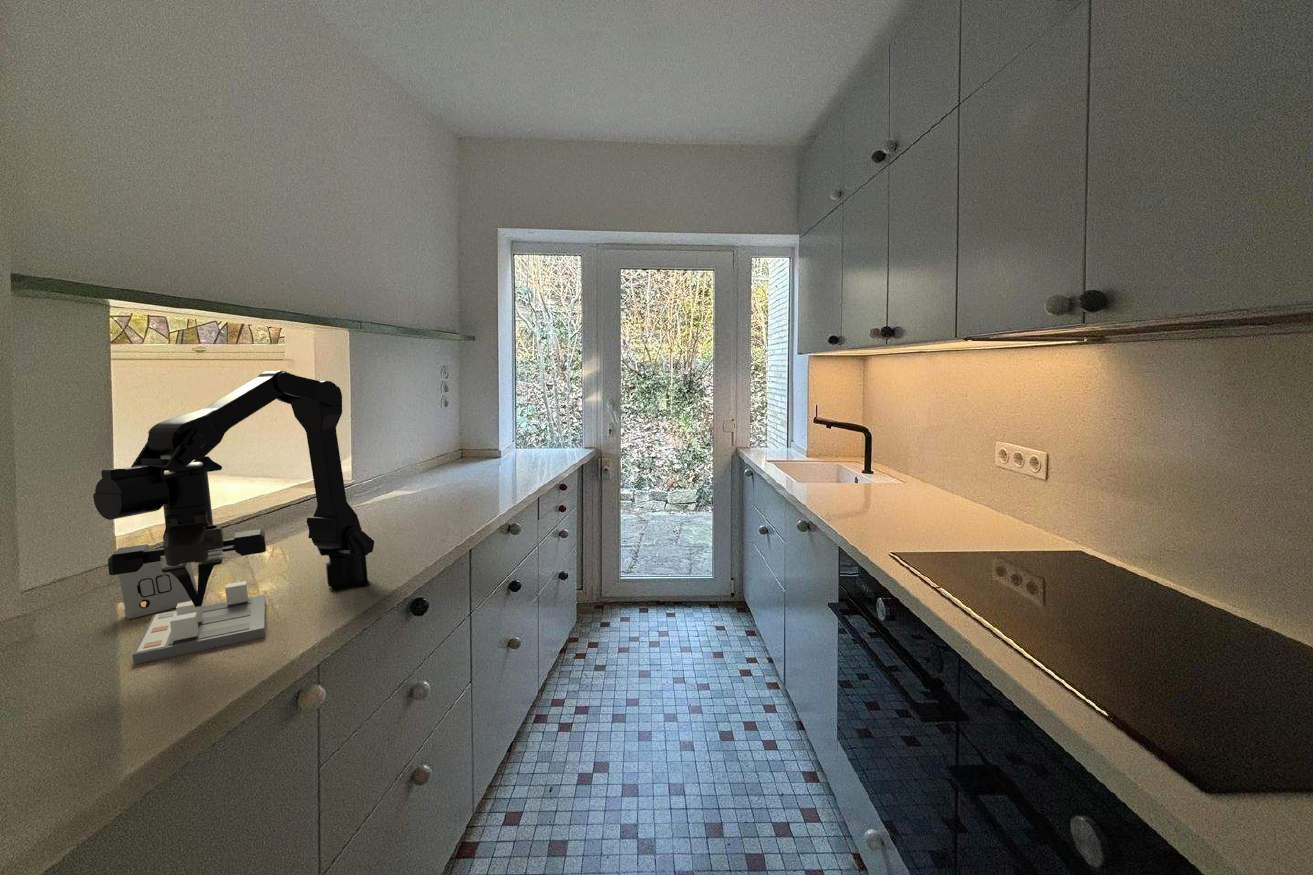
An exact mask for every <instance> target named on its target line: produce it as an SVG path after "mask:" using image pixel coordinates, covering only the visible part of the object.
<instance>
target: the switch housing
mask: <svg viewBox="0 0 1313 875" xmlns="http://www.w3.org/2000/svg"><path fill="white" fill-rule="evenodd" d="M266 602H267V600H266V594H260V595H256V596H248V601H246V602H241V603H235V604H230V605H227V601H222V602H216V603H211V604H204V605H202V614H203V618H202V622H198V629H199V632H198V635H197V636H195V637H190V638H185V639H180V640H175V641H172V635H171V626H170V620H171V618H172V617H173V616H177V612H176V610H171V611H167V612H159V613H153V614H152V617H151V619H150V620H149V622H148V624H147V627H146V629H145V630H144V632H143V633H142V636H141V638H140V639H139V642H138V644H137V645H136V647H135V649H134V651H133V653H132V661H133V665H138V664H144V663H147V662H148V663H149V662H154V661H157V660H163V659H167V658H172V657H176V656H181V655H186V654H191V652H192V653H195V652H202V651H204V650H205V649H206V650H210V649H209V648H211V649H215V648H214V647H216V648H220V647H219V646H221V647H225V646H229V645H228V644H230V645H234V644H233V643H235V644H238V642H240V643H243V641H244V642H248V641H253V640H257V639H258V640H259V639H262V638H266V612H265V610H266V609H267V608H266V607H267V606H266V605H267V604H266ZM224 645H225V646H224Z"/></svg>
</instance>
